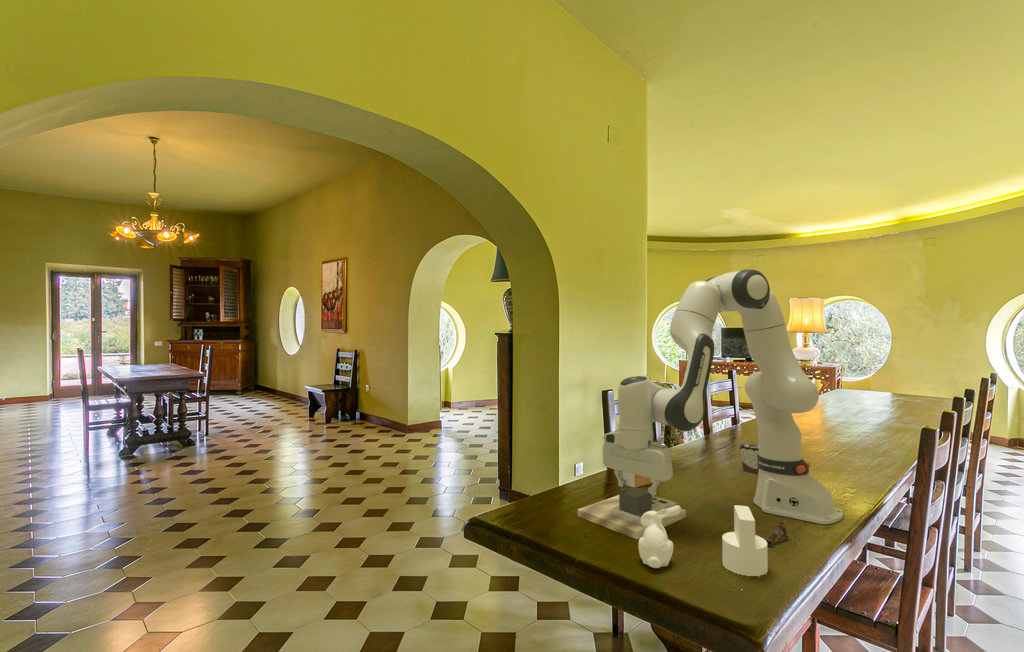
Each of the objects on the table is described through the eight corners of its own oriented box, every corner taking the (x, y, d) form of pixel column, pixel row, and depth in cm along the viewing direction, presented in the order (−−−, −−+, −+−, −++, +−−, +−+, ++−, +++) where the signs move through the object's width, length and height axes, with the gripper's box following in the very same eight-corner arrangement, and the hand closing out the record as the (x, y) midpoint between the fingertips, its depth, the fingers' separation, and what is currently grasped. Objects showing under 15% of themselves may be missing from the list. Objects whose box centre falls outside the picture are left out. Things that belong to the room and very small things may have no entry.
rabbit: (639, 547, 120) (639, 497, 120) (680, 552, 118) (680, 500, 118) (637, 571, 109) (636, 515, 109) (682, 577, 106) (682, 520, 106)
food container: (781, 476, 175) (781, 447, 175) (772, 479, 171) (772, 450, 171) (748, 468, 185) (747, 441, 185) (738, 471, 182) (738, 443, 182)
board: (685, 517, 139) (685, 510, 139) (637, 539, 125) (637, 531, 125) (626, 498, 154) (626, 492, 154) (577, 516, 140) (577, 509, 140)
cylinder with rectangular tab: (720, 555, 116) (719, 503, 116) (763, 560, 113) (762, 507, 113) (724, 574, 107) (724, 518, 107) (771, 580, 104) (771, 522, 104)
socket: (676, 511, 137) (676, 502, 137) (641, 527, 127) (640, 517, 127) (648, 503, 144) (648, 494, 144) (612, 516, 134) (612, 507, 134)
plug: (657, 514, 135) (656, 489, 135) (636, 522, 129) (636, 497, 129) (639, 508, 139) (639, 484, 139) (619, 516, 133) (619, 491, 133)
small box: (634, 488, 164) (634, 448, 164) (620, 483, 169) (620, 444, 169) (651, 484, 168) (651, 445, 168) (637, 479, 173) (636, 441, 173)
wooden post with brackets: (792, 535, 124) (788, 519, 123) (775, 556, 120) (770, 540, 119) (785, 532, 126) (780, 517, 125) (768, 553, 122) (763, 537, 121)
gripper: (677, 442, 127) (678, 497, 127) (613, 430, 143) (614, 479, 143) (662, 447, 123) (664, 503, 123) (598, 434, 139) (599, 484, 139)
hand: (636, 490), depth 133 cm, fingers open, 8 cm apart
